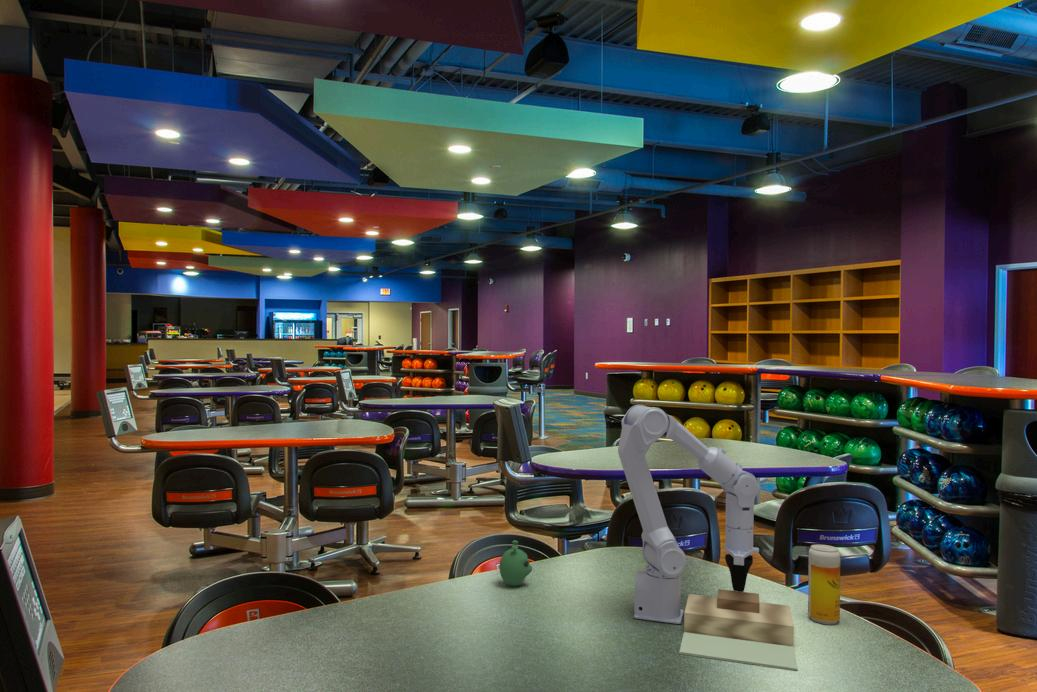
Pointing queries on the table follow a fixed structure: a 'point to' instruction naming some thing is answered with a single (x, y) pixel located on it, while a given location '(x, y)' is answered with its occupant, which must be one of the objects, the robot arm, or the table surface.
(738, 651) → the sage mat
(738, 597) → the walnut tile
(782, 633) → the birch deck
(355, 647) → the table surface
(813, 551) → the beer can
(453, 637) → the table surface
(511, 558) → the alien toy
